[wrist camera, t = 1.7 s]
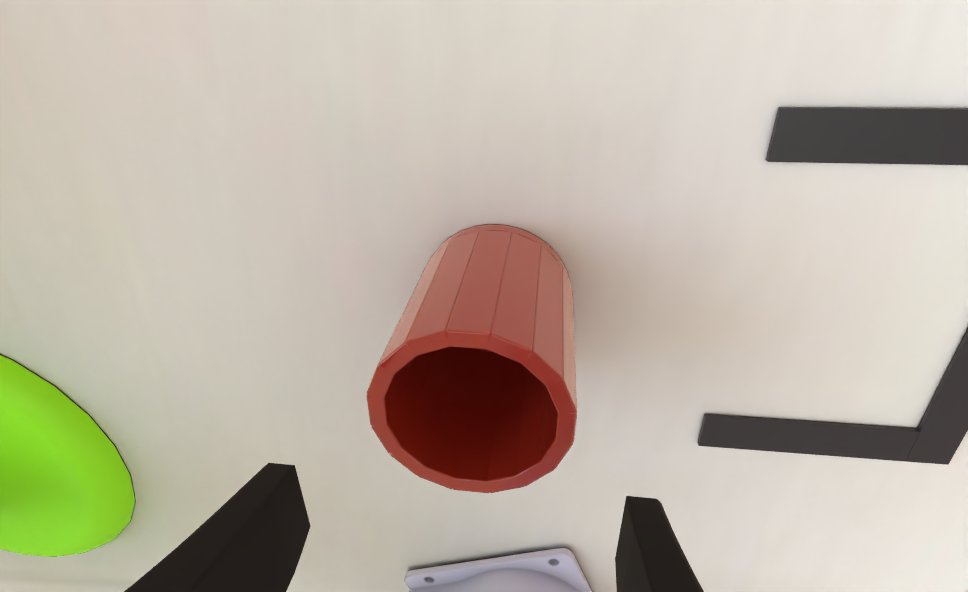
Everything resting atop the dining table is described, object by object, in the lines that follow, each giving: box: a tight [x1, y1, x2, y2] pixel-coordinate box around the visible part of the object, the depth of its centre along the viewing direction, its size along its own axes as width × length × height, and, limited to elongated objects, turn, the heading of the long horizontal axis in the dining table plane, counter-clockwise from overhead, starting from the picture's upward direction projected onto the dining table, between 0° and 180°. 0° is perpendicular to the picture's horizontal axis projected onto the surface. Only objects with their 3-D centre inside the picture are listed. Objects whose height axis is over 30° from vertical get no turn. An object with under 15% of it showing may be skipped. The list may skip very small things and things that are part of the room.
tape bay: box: [698, 107, 968, 464], centre depth 19 cm, size 10×14×1 cm
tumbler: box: [367, 224, 577, 493], centre depth 17 cm, size 6×6×7 cm
